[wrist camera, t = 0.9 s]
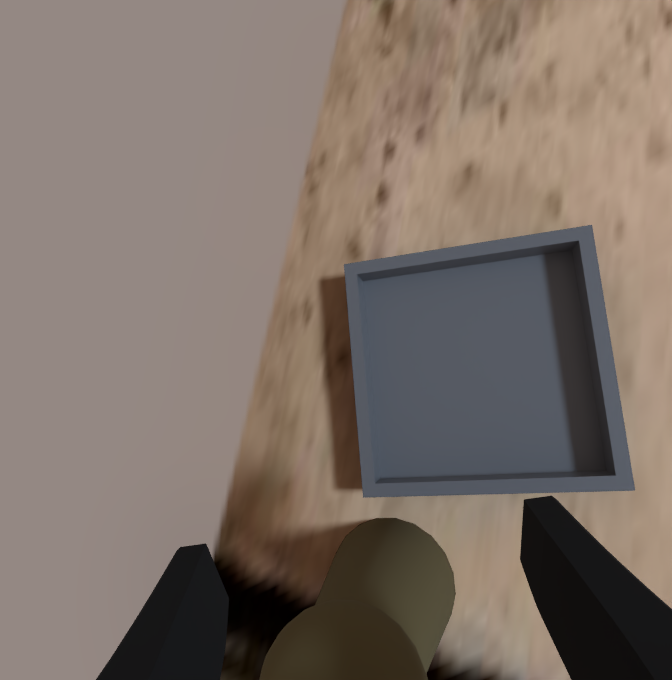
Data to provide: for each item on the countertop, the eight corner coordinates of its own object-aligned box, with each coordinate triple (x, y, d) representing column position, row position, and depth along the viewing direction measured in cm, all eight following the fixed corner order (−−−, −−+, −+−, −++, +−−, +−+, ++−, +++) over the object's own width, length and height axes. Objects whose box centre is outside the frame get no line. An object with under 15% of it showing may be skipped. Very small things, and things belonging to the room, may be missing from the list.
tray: (619, 481, 21) (634, 490, 19) (371, 489, 24) (363, 497, 22) (581, 239, 22) (591, 224, 20) (353, 274, 25) (344, 264, 23)
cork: (336, 509, 24) (234, 596, 13) (458, 527, 22) (449, 643, 12) (327, 633, 23) (212, 827, 13) (452, 662, 22) (437, 911, 11)
